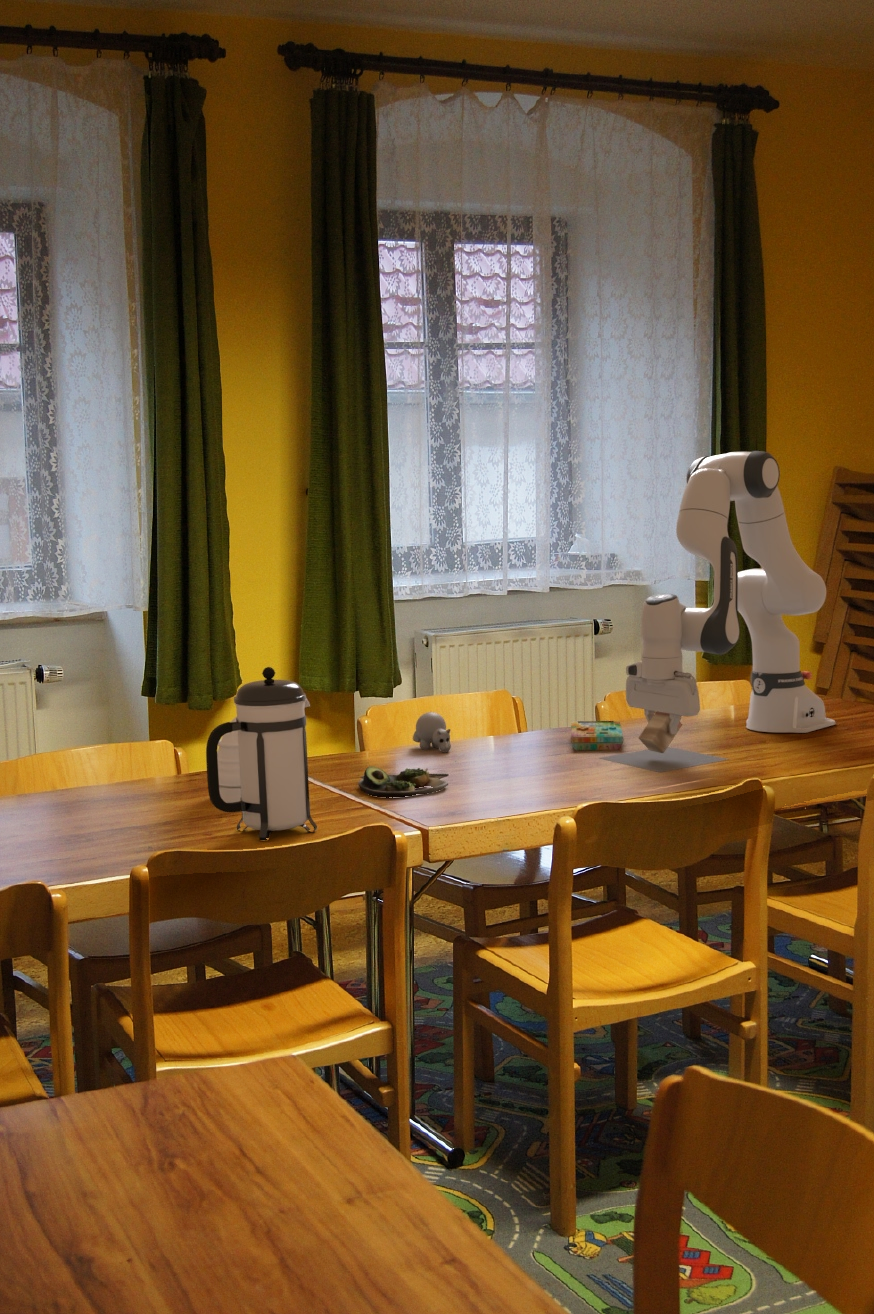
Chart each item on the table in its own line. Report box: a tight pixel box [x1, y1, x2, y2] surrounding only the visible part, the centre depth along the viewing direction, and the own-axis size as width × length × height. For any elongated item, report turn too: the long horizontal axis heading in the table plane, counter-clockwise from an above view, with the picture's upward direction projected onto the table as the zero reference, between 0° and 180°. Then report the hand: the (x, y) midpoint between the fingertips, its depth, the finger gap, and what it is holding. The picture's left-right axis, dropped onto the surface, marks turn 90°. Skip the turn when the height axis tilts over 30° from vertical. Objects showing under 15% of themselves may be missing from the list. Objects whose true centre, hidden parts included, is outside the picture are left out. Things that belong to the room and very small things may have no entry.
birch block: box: [638, 711, 683, 753], centre depth 283 cm, size 4×4×8 cm
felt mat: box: [599, 746, 730, 773], centre depth 284 cm, size 20×20×1 cm
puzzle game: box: [570, 720, 624, 751], centre depth 305 cm, size 12×5×20 cm
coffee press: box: [205, 666, 318, 841], centre depth 231 cm, size 17×16×30 cm
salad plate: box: [357, 766, 449, 799], centre depth 266 cm, size 19×18×5 cm
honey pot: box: [217, 715, 241, 803], centre depth 261 cm, size 13×13×18 cm
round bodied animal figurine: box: [412, 711, 452, 753], centre depth 304 cm, size 7×12×8 cm, turn 30°
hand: (662, 731), depth 283 cm, fingers closed on birch block, 4 cm apart
